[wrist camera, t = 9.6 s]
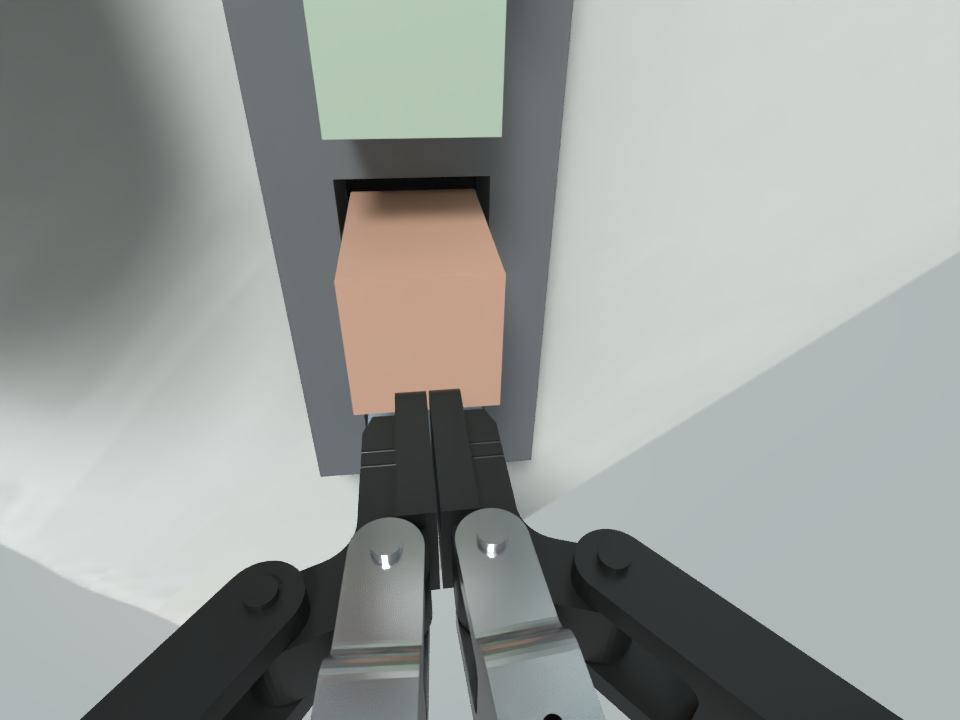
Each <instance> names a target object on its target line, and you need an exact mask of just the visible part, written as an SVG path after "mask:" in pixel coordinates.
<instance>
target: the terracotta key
mask: <svg viewBox="0 0 960 720" xmlns="http://www.w3.org/2000/svg"><path fill="white" fill-rule="evenodd" d="M334 284H335V291H336V298H337V304H338V311H339V318H340V325H341V332H342V339H343V345H344V352H345V359H346V366H347V373H348V379H349V386H350V393H351V400H352V407H353V413H354V415H363V414H377V413H391V412H395V393H401V392H416V391H426V395H427V406H428V410H429V390H444V389H460V391H461V397H462V403H463V407H478V406H492V405H500V394H501V372H502V350H503V328H504V306H505V284H506V273H505V270H504V268H503V265H502V262H501V260H500V257H499V254H498V252H497V249H496V246H495V243H494V241H493V238H492V235H491V233H490V230H489V227H488V224H487V222H486V219H485V216H484V214H483V211H482V208H481V206H480V203H479V200H478V197H477V195H476V192H475V189H443V190H405V191H366V192H351V193H350V199H349V204H348V209H347V215H346V220H345V226H344V231H343V237H342V242H341V247H340V253H339V258H338V264H337V269H336V275H335V280H334Z"/></svg>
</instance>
